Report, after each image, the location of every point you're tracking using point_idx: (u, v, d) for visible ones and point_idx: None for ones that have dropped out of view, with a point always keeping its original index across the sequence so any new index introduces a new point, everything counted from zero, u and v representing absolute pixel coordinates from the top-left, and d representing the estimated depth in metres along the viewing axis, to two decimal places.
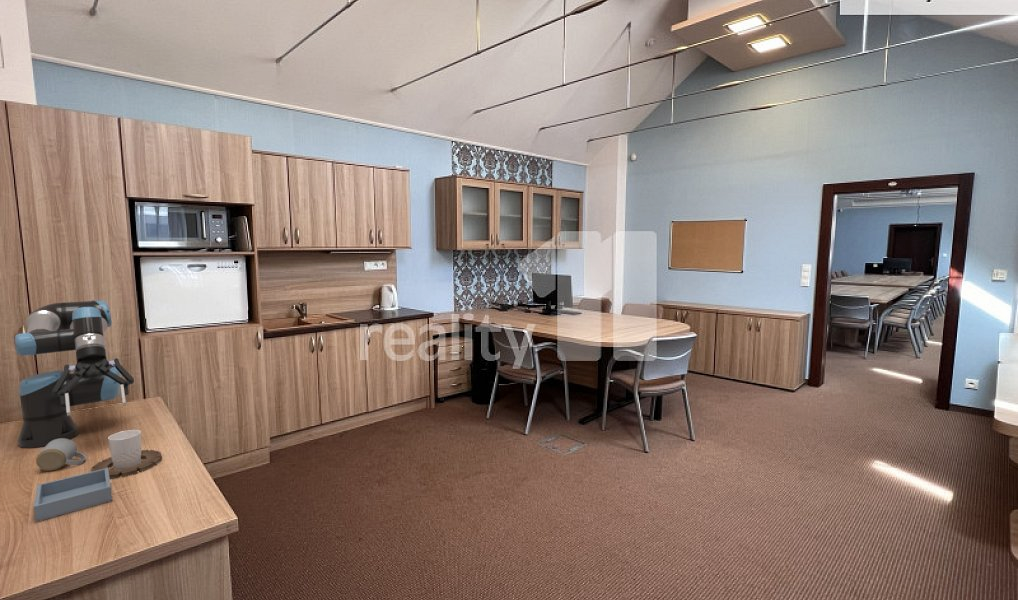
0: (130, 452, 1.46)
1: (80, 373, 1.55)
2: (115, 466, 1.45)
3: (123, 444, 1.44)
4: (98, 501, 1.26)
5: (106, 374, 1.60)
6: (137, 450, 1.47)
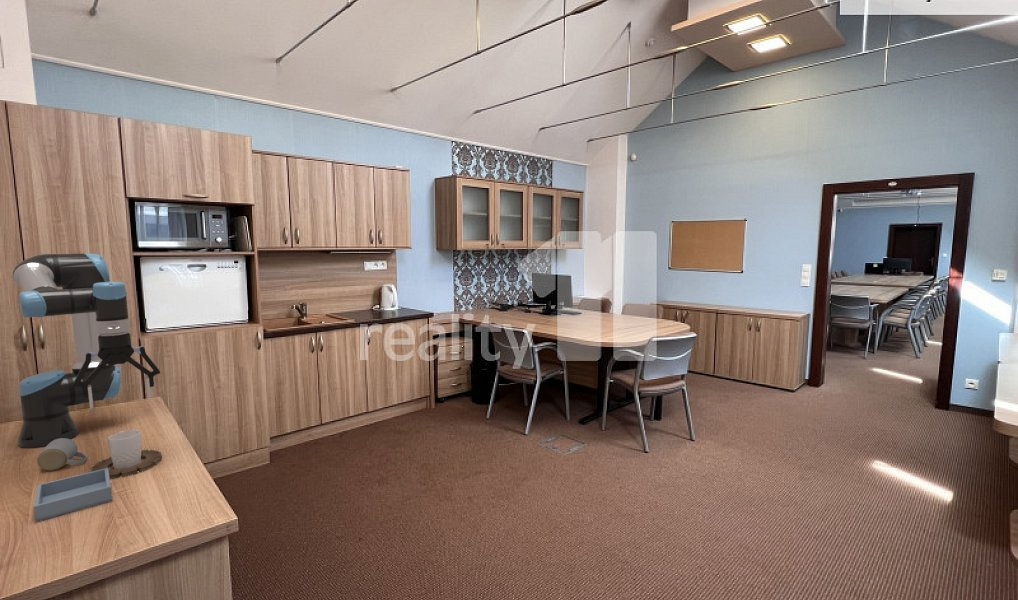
0: (130, 452, 1.46)
1: (103, 365, 1.41)
2: (115, 466, 1.45)
3: (123, 444, 1.44)
4: (98, 501, 1.26)
5: None
6: (137, 450, 1.47)
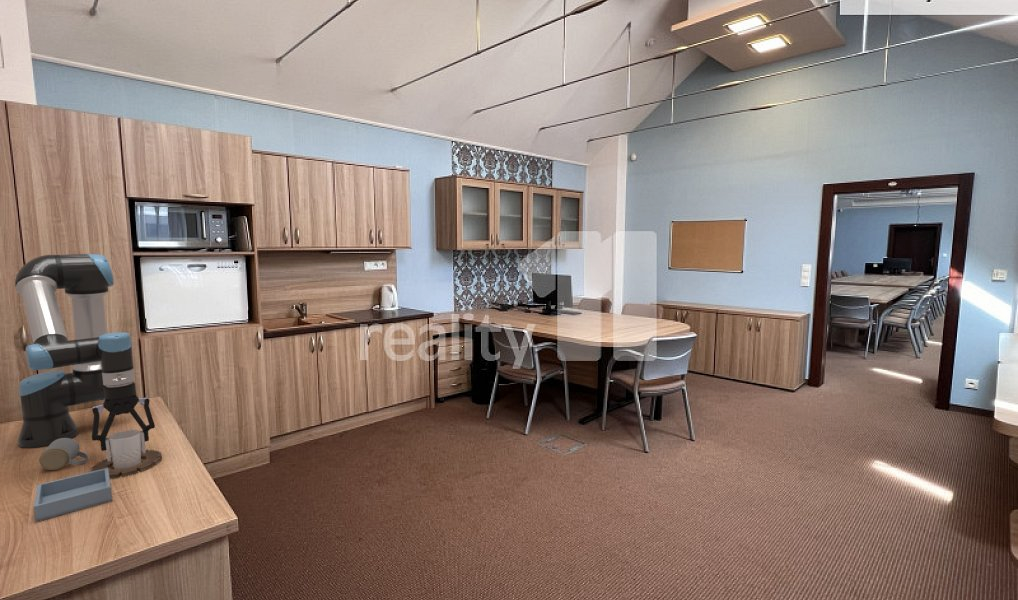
0: (131, 452, 1.46)
1: (113, 416, 1.44)
2: (115, 466, 1.45)
3: (123, 444, 1.44)
4: (98, 501, 1.26)
5: None
6: (137, 450, 1.47)
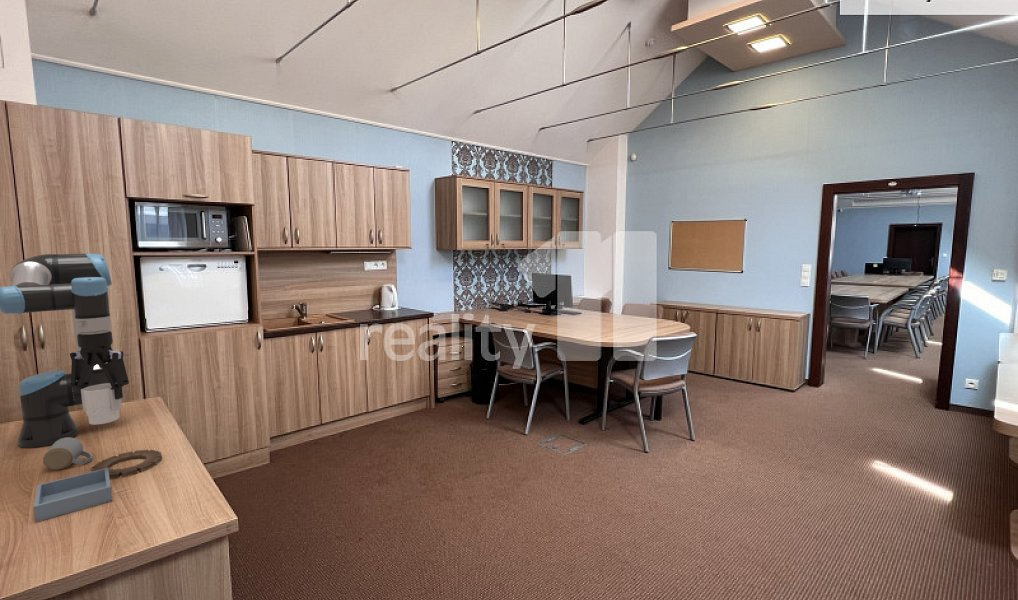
0: (94, 407, 1.34)
1: (84, 365, 1.35)
2: None
3: (87, 397, 1.34)
4: (98, 501, 1.26)
5: None
6: (102, 407, 1.35)
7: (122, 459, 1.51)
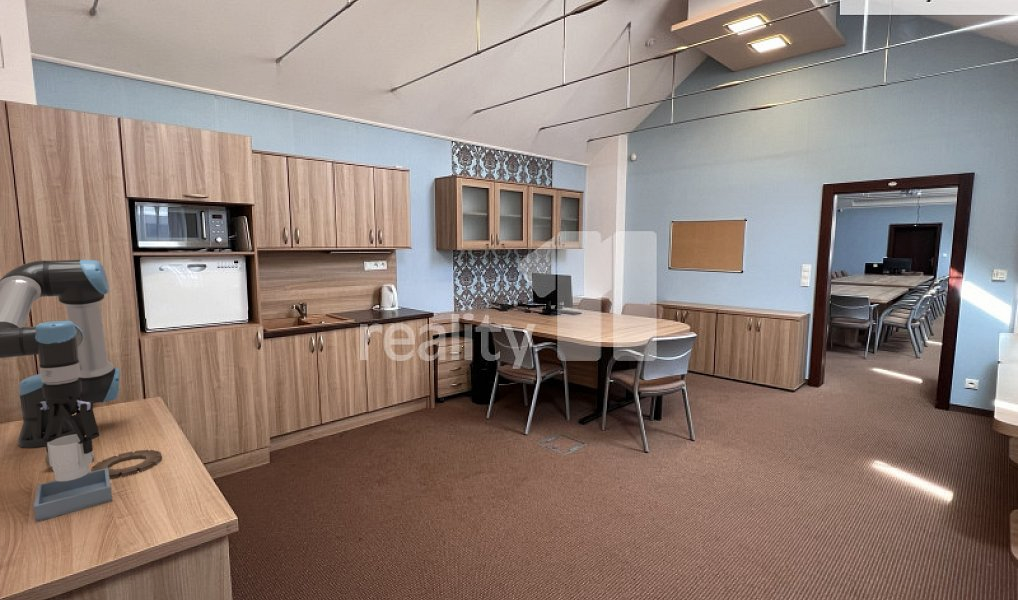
0: (60, 463, 1.23)
1: (50, 417, 1.24)
2: None
3: (52, 452, 1.23)
4: (98, 501, 1.26)
5: None
6: (69, 462, 1.24)
7: (122, 459, 1.51)
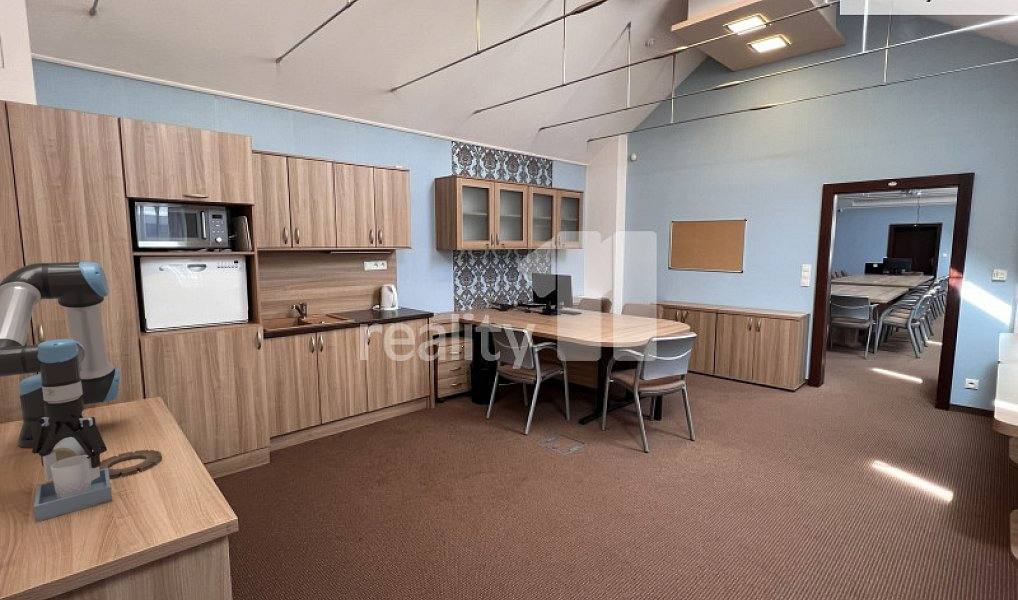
0: (63, 485, 1.24)
1: (50, 434, 1.25)
2: None
3: (55, 474, 1.24)
4: (98, 501, 1.26)
5: None
6: (72, 484, 1.25)
7: (122, 459, 1.51)
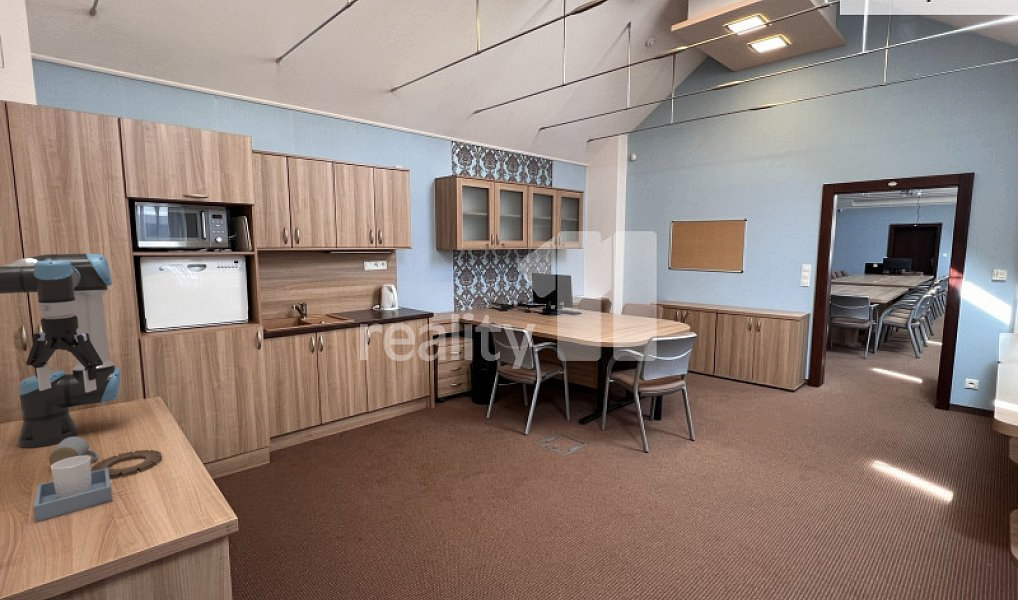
0: (63, 485, 1.24)
1: (46, 348, 1.33)
2: None
3: (55, 474, 1.24)
4: (98, 501, 1.26)
5: None
6: (72, 484, 1.25)
7: (122, 459, 1.51)
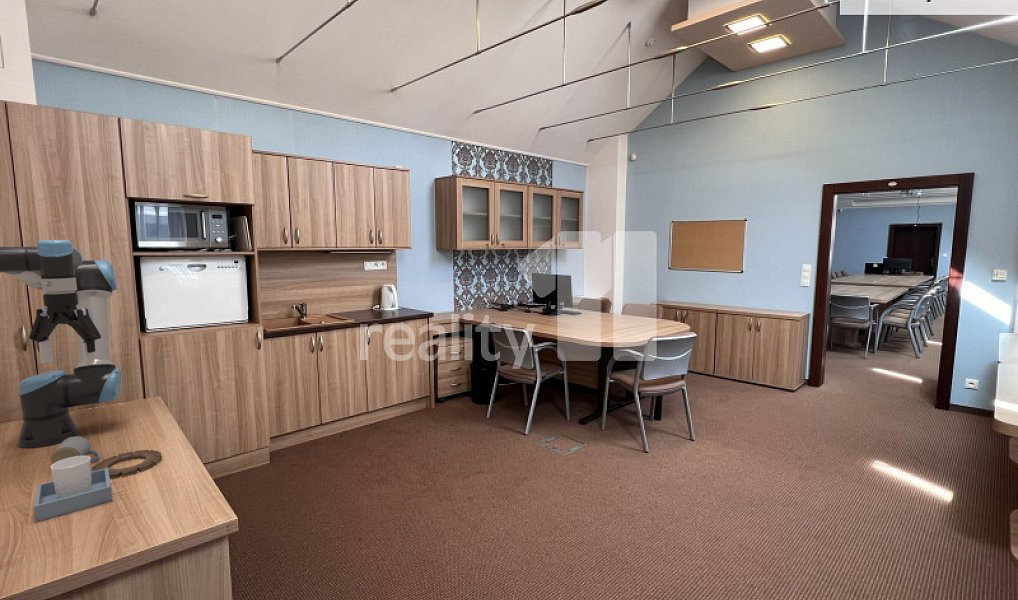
0: (63, 485, 1.24)
1: (48, 322, 1.41)
2: None
3: (55, 475, 1.24)
4: (98, 501, 1.26)
5: None
6: (72, 485, 1.25)
7: (122, 459, 1.51)
